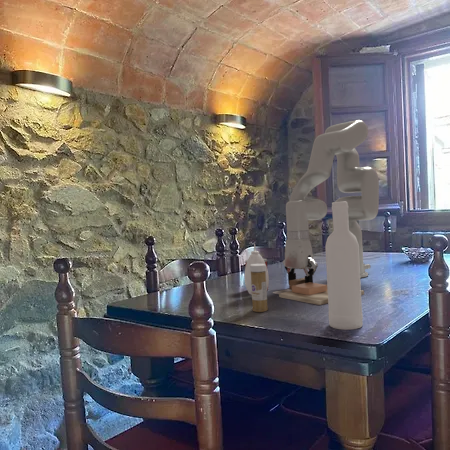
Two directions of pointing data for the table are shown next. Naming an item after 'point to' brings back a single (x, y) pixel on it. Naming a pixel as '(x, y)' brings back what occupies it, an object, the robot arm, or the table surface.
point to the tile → (309, 288)
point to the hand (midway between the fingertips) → (300, 285)
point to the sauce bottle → (253, 259)
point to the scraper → (291, 283)
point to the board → (308, 297)
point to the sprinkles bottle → (259, 287)
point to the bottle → (343, 273)
